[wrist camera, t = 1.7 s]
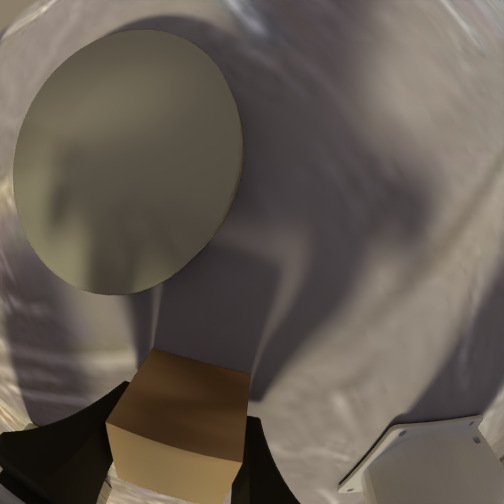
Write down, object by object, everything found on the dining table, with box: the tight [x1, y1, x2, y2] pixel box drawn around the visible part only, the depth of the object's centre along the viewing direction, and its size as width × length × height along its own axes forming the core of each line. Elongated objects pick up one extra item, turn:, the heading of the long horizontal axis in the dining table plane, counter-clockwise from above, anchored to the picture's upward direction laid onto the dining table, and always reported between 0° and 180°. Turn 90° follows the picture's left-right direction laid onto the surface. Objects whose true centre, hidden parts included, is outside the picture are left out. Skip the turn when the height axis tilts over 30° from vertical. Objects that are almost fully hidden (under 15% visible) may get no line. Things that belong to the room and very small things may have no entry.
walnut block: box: [106, 348, 250, 504], centre depth 10 cm, size 4×4×5 cm
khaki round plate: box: [13, 29, 244, 295], centre depth 9 cm, size 10×10×2 cm
